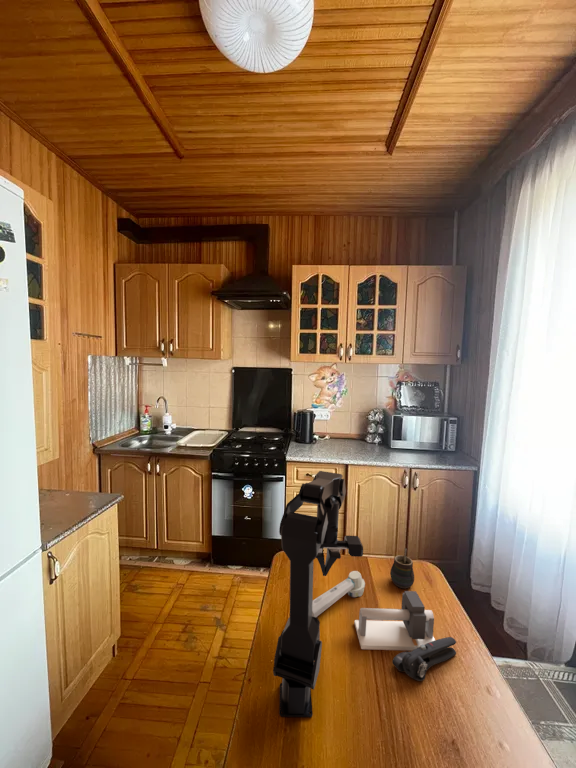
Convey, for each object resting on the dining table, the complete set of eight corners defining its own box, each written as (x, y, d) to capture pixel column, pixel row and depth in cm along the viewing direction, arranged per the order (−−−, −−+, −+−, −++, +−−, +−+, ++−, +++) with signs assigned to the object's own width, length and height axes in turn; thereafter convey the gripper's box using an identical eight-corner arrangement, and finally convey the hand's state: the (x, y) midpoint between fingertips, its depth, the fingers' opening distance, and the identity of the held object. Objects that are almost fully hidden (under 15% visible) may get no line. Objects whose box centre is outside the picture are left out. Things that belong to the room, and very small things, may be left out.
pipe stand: (438, 651, 84) (441, 623, 83) (361, 649, 84) (363, 620, 83) (425, 625, 92) (427, 599, 91) (354, 623, 91) (356, 597, 91)
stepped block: (424, 641, 84) (426, 610, 83) (412, 641, 84) (414, 610, 83) (411, 616, 92) (414, 588, 91) (400, 616, 92) (402, 587, 91)
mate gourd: (389, 588, 106) (391, 557, 105) (389, 574, 113) (391, 545, 113) (414, 594, 104) (416, 562, 103) (413, 579, 111) (415, 549, 111)
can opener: (410, 692, 73) (412, 668, 73) (388, 665, 80) (390, 642, 79) (467, 664, 81) (469, 641, 80) (443, 641, 87) (444, 620, 87)
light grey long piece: (292, 606, 92) (354, 562, 107) (294, 628, 93) (355, 581, 108) (305, 618, 88) (368, 571, 103) (306, 641, 89) (368, 590, 104)
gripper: (356, 506, 99) (353, 558, 100) (291, 504, 99) (289, 556, 100) (365, 526, 88) (361, 583, 89) (292, 523, 88) (289, 581, 89)
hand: (324, 575), depth 92 cm, fingers closed
